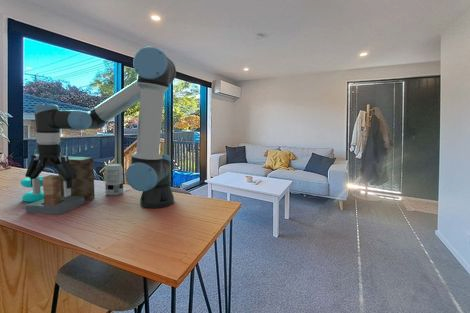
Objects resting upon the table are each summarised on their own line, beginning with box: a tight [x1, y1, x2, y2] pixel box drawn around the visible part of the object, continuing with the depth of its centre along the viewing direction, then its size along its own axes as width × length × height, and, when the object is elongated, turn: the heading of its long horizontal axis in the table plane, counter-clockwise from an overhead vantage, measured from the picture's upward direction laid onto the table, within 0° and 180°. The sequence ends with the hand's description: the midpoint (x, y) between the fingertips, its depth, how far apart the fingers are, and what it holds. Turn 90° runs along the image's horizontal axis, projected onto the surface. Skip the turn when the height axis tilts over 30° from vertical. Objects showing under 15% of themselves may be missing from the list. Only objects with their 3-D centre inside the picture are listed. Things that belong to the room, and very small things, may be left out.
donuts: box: [20, 176, 44, 203], centre depth 110 cm, size 10×10×10 cm
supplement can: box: [104, 163, 124, 196], centre depth 123 cm, size 8×8×15 cm
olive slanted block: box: [57, 155, 96, 201], centre depth 110 cm, size 16×8×20 cm, turn 86°
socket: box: [25, 196, 85, 216], centre depth 101 cm, size 14×14×3 cm
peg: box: [41, 174, 61, 205], centre depth 98 cm, size 4×4×14 cm
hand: (52, 194), depth 98 cm, fingers open, 13 cm apart
